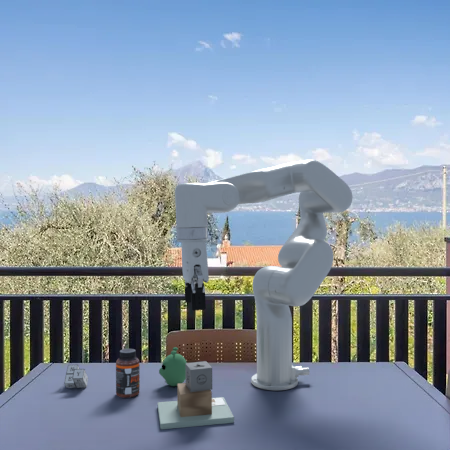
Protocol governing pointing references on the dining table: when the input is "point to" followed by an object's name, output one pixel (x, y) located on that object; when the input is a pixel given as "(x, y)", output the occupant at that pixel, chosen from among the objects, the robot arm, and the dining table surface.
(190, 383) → the dice cube
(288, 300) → the robot arm
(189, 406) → the base brick
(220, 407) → the build board
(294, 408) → the dining table surface
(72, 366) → the building blocks
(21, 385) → the dining table surface
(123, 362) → the supplement bottle
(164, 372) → the alien toy
